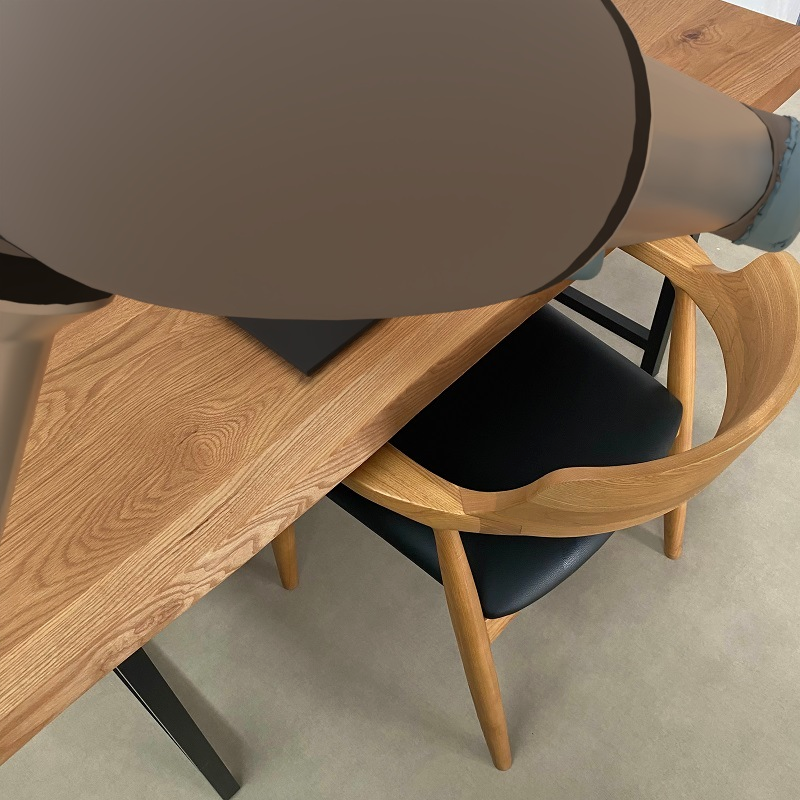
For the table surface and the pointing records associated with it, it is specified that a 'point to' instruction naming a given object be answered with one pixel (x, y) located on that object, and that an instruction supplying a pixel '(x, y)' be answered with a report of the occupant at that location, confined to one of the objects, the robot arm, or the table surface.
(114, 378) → the table surface
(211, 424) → the table surface
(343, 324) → the shoe mat
